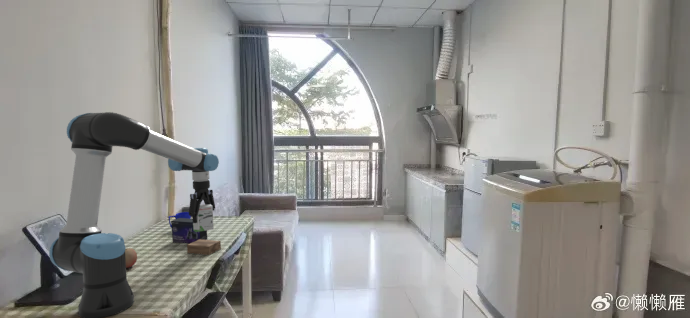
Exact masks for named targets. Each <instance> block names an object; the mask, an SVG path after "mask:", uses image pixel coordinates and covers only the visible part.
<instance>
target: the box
mask: <svg viewBox="0 0 690 318" xmlns="http://www.w3.org/2000/svg"><path fill="white" fill-rule="evenodd" d="M170 223H171V226H172V228H171V237H172V238H171V239H172V243H174V244H175V243H178V244H186V245H188V244H190V243H192V242H195V241H197V240H199V239H202V240H208V230H206V231H200V232H195V231H194V230H193V218H191V219H189V218H178V219H176V218H175V219H173V220H170Z"/></svg>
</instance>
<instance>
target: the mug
mask: <svg viewBox="0 0 690 318" xmlns="http://www.w3.org/2000/svg"><path fill="white" fill-rule="evenodd" d="M171 218H175V219H178V218H189V219H192V216H189V211H183V212H177V213H175V215H169V216H168V224H169V226H170V229H172V226H171Z"/></svg>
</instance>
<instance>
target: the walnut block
mask: <svg viewBox="0 0 690 318" xmlns="http://www.w3.org/2000/svg"><path fill="white" fill-rule="evenodd" d="M221 245H222V243H221V240H212V239H207V240H202V239H199V240H197V241H195V242H192V243H190V244H186V249H187V251H186V252H187V254H192V253H194V254H195V255H205V256H210V255H212V254H214V253H216V252H218V251H220V250H221V249H222V246H221Z"/></svg>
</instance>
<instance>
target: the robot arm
mask: <svg viewBox="0 0 690 318" xmlns="http://www.w3.org/2000/svg"><path fill="white" fill-rule="evenodd" d="M66 136H67V138H68V139H69V140H70V142H71V147H70V150H71V151H72V152H73V153H74V154H75V159H74V160H75V161H74V167H73V175H72V181H71V188H70V196H69V203H68V210H67V217H66V223H65V226H63V227H62V228H61V229H60V230H59V231H58V232H59V234H58V237H57V238H56V239H55V240H54V241H53V242H52V243H51V244H50V247H49V252H48V257H49V259H50V261H51V263H52V264H53V265H54V267H55V266H56V267H57V268H59V269H61V270H64V271H66V272H67V271H68V272H74V273H78V274H82V281H83V291H82V293H81V296H80V297H81V298H80V302H79V304H78V307H77V309H78V310H77V312H78V316H79V317H80V318H106V317H110V316H113V315H116V314H120V313H121V312H124V311H126V310H127V309H129V308H130V307H131V306H133V305H134V303H135V295H134V292H133V290H132V288H131V285H130V284H129V282H128V278H127V276H128V275H127V268H126V258H125V249H127V248H126V243H125V239H124V237H123V236H122V235H120V234H117V233H112V232H109V233H106V232H102V229H101V227H99V226H98V221H99V213H100V205H101V197H102V189H103V182H104V175H105V167H106V160H107V157H109V156H110V155H111V154H112V153H113V147H120V148H121V147H122V148H128V149H131V150H135V151H137V150H143V151H146V152H149V153H151V154H155V155H156V156H157V155H158V156H161V157H162V158H166V159H167V164H168V168H169V169H170V170H171V171H173V172H181V171H191V178H192V179H191V180H192V189H193V190H194V193H190V194H189V198H190V199H189V208H188V210H189V211H188V212H189V216H191V218H192V219H193V227H194V230H199V229H200V227H199V216H197V215H198V212H199V208H200V205H202V202H203V203H204V205H205V204H211V205H212V206H213V212H214V211H215V209H216V204H215V200H214V199H215V198H214V192H213V189H210V187H211V184H210V180H209V179H210V172H213V171H216V170H217V169H218V168H219V164H220V163H219V162H220V161H219V158H218V155H216V154H215V153H211V152H209V149H208V147H207V148H206V147H191V146H189V145H186V144H184V143H182V142H181V141H177V140H174V139H172V138H171V137H168V136H166V135H163V134H161V133H159V132H156V131H154V130H152V129H150V127H149V126H148V125H147V124H144V123H143V122H140V121H138V120H136V119H133V118H131V117H128V116H126V115H123V114H120V113H117V112H113V111H112V112H111V111H109V112H107V111H106V112H87V113H83V114H78V115H76V116H75V117H73V118H72V119H71V120H69V123H68V124H67V126H66Z"/></svg>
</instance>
